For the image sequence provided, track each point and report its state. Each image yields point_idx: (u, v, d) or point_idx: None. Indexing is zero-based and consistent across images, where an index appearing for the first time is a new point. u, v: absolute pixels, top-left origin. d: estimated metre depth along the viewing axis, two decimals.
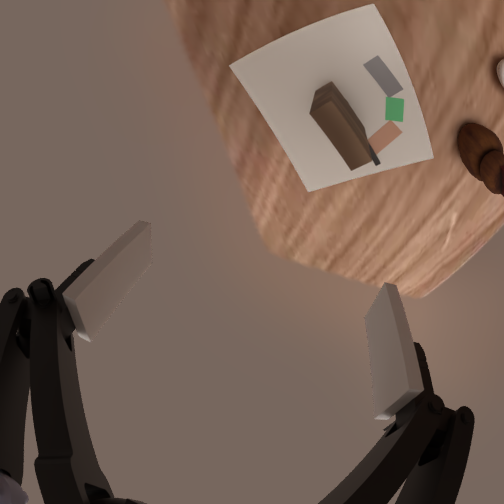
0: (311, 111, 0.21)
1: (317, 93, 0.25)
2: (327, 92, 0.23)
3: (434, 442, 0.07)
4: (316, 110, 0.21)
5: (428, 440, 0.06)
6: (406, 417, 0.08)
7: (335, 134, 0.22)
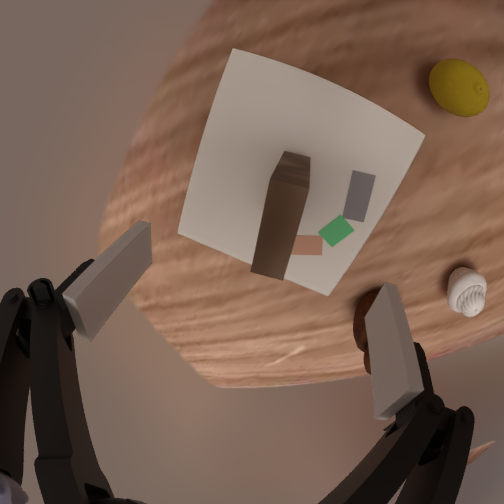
0: (273, 178, 0.16)
1: (287, 157, 0.21)
2: (303, 169, 0.19)
3: (434, 442, 0.07)
4: (281, 183, 0.16)
5: (428, 440, 0.06)
6: (406, 417, 0.08)
7: (272, 225, 0.17)
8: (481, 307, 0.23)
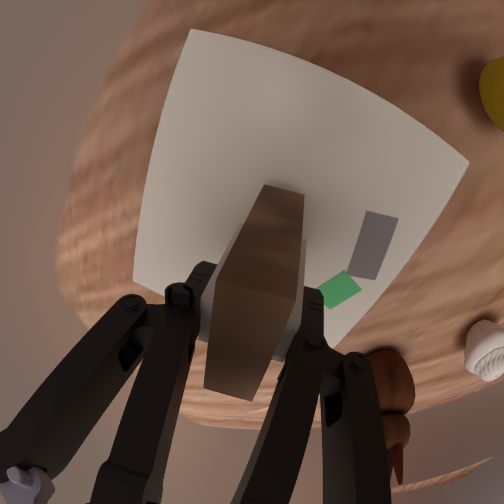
0: (225, 275, 0.08)
1: (265, 200, 0.13)
2: (290, 231, 0.11)
3: (326, 390, 0.09)
4: (239, 288, 0.08)
5: (319, 378, 0.08)
6: (289, 361, 0.10)
7: (229, 345, 0.10)
8: (502, 372, 0.16)
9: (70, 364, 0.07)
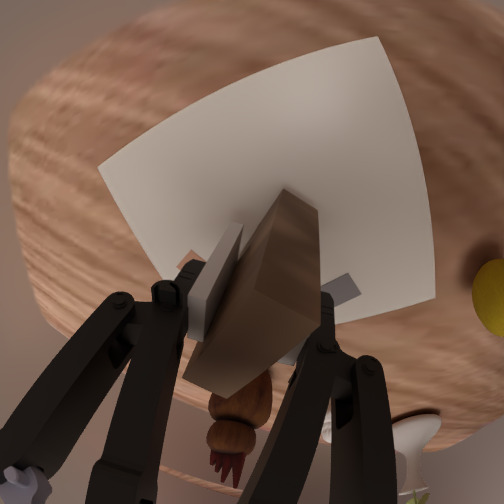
0: (261, 286, 0.08)
1: (286, 208, 0.13)
2: (310, 248, 0.11)
3: (338, 393, 0.09)
4: (272, 302, 0.08)
5: (331, 383, 0.08)
6: (301, 365, 0.10)
7: (233, 348, 0.09)
8: None
9: (61, 362, 0.07)
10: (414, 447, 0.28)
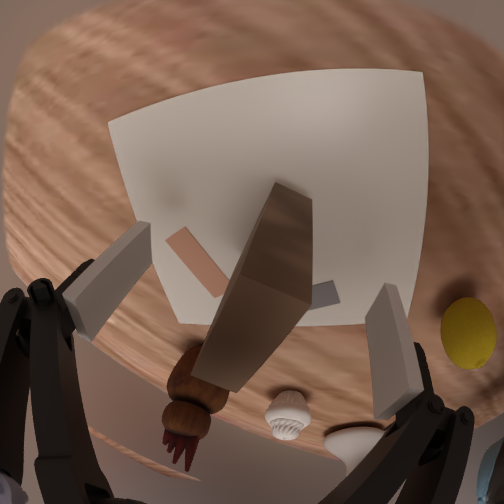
0: (248, 271, 0.08)
1: (278, 199, 0.14)
2: (302, 234, 0.12)
3: (434, 442, 0.07)
4: (260, 286, 0.08)
5: (428, 440, 0.06)
6: (406, 417, 0.08)
7: (232, 338, 0.10)
8: (289, 439, 0.28)
9: None
10: (355, 457, 0.33)
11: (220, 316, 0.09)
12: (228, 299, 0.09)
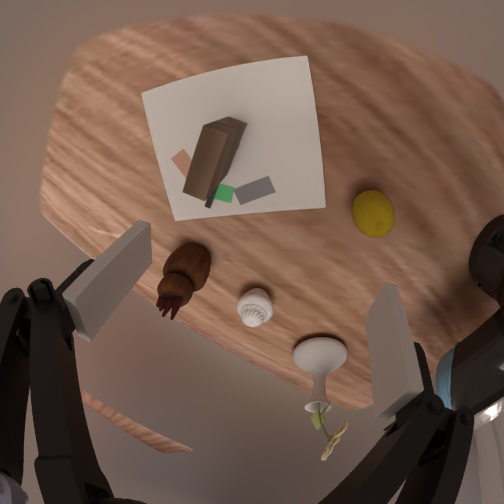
0: (206, 125, 0.22)
1: (227, 119, 0.27)
2: (233, 126, 0.25)
3: (434, 442, 0.07)
4: (210, 128, 0.22)
5: (428, 440, 0.06)
6: (406, 417, 0.08)
7: (201, 157, 0.23)
8: (255, 325, 0.42)
9: None
10: (320, 366, 0.47)
11: (196, 146, 0.23)
12: (199, 137, 0.22)
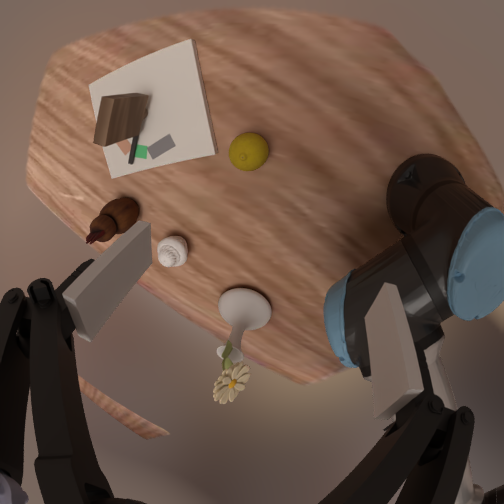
0: (104, 96, 0.28)
1: (131, 93, 0.33)
2: (128, 96, 0.31)
3: (434, 442, 0.07)
4: (105, 98, 0.28)
5: (428, 440, 0.06)
6: (406, 417, 0.08)
7: (101, 117, 0.29)
8: (168, 264, 0.48)
9: None
10: (238, 316, 0.52)
11: (99, 110, 0.29)
12: (100, 104, 0.28)
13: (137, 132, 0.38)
